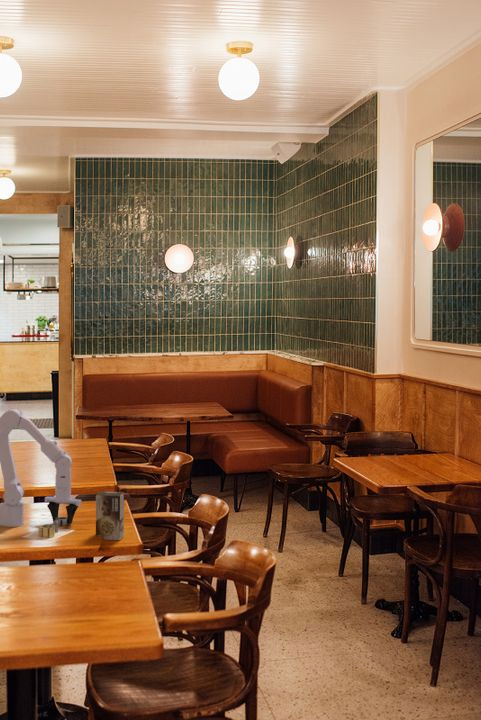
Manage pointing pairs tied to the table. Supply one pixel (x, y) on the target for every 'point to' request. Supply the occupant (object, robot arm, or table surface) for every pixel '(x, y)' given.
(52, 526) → the brass gear
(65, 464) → the robot arm
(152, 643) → the table surface
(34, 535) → the gear board
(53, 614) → the table surface
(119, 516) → the coffee box
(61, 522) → the steel gear
